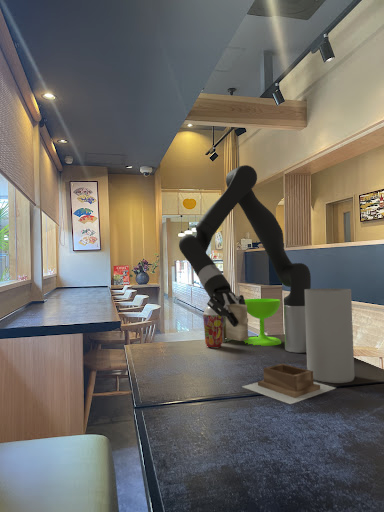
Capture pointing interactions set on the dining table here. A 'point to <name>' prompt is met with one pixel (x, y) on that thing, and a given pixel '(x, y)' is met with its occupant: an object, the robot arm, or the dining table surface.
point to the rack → (288, 380)
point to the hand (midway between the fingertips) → (241, 324)
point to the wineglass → (262, 319)
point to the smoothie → (213, 327)
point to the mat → (285, 397)
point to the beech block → (242, 328)
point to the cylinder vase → (329, 334)
